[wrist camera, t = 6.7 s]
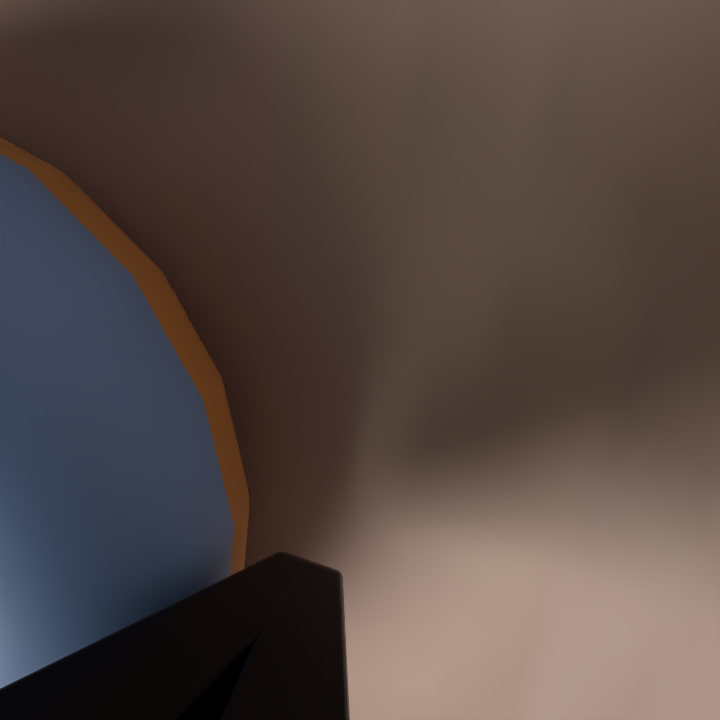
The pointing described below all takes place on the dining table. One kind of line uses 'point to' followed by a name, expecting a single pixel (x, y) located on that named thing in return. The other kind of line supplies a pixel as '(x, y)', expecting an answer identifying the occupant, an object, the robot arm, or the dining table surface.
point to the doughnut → (100, 430)
